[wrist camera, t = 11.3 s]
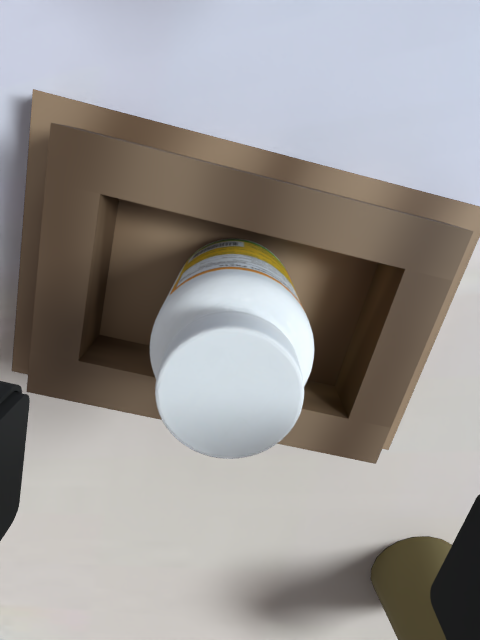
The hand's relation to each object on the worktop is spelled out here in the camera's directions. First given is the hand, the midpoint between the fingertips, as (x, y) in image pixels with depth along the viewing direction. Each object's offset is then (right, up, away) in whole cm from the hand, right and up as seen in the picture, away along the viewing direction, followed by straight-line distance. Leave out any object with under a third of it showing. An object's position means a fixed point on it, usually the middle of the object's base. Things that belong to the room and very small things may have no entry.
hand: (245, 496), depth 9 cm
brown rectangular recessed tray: (0, +5, +13) cm, 14 cm away
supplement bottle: (0, +5, +12) cm, 13 cm away
